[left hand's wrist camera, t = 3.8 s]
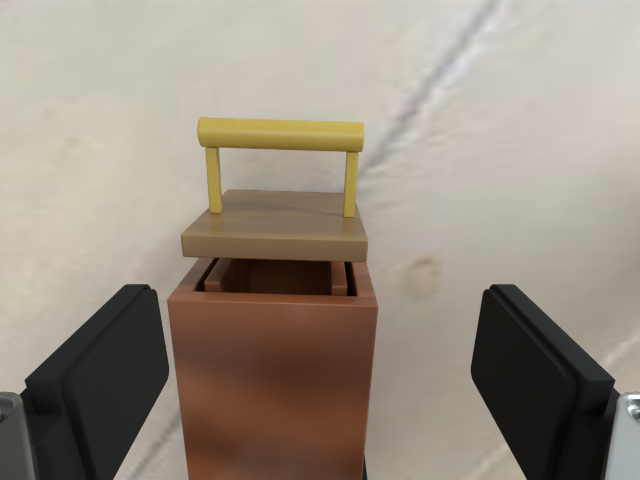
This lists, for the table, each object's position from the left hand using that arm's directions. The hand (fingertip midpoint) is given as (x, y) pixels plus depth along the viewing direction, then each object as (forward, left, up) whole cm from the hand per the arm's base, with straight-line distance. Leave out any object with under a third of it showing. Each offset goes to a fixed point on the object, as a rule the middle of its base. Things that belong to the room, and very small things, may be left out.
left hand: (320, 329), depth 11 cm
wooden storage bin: (+13, +2, -19) cm, 23 cm away
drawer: (+7, 0, -18) cm, 19 cm away
